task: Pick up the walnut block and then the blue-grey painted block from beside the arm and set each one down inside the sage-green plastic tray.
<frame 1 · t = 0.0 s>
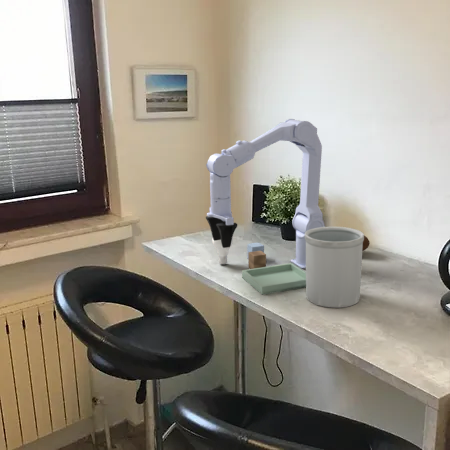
hand: (221, 243, 161), 10 cm above the counter, fingers open, 7 cm apart
utensil holder: (332, 298, 147), on the counter
tray: (277, 281, 159), on the counter
lightbulb: (223, 264, 174), on the counter
potato: (353, 254, 181), on the counter
walnut block: (257, 269, 170), on the counter
bluegrey block: (255, 259, 178), on the counter
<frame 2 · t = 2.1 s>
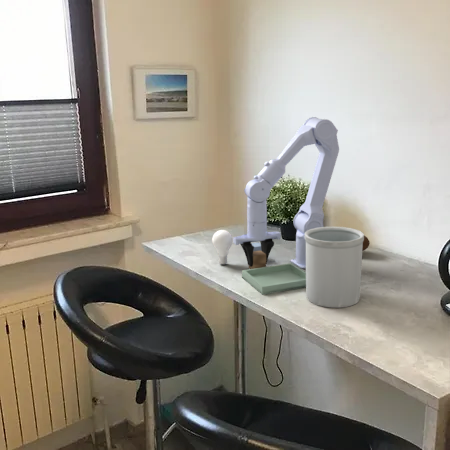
hand: (257, 264, 169), 1 cm above the counter, fingers closed on walnut block, 4 cm apart
walnut block: (257, 268, 170), on the counter, touching gripper
everything else where it was.
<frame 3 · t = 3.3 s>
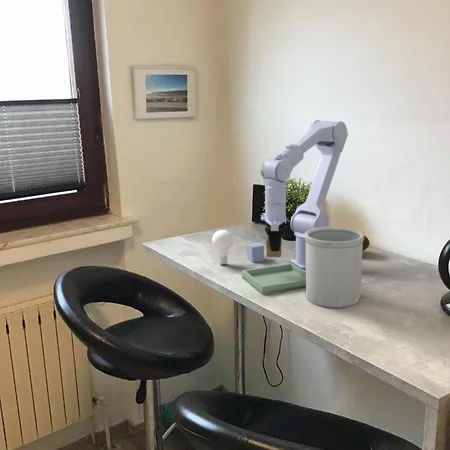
hand: (275, 248, 161), 8 cm above the counter, fingers closed on walnut block, 4 cm apart
walnut block: (274, 254, 162), point 6 cm above the counter, touching gripper
everything else where it was.
when the fingers open (3 cm above the counter, at t = 4.9 s): walnut block stays where it is, resting on tray.
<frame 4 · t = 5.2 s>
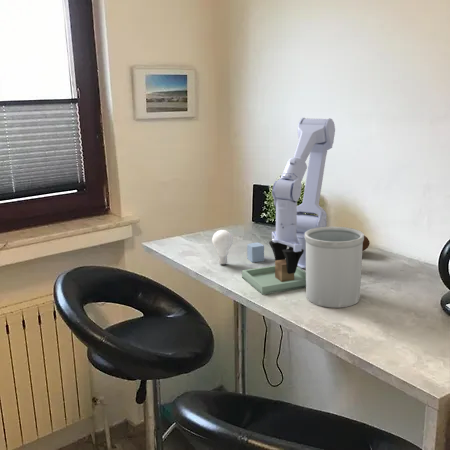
hand: (285, 268, 159), 3 cm above the counter, fingers open, 6 cm apart
walnut block: (284, 278, 160), point 1 cm above the counter, touching tray
everything else where it was.
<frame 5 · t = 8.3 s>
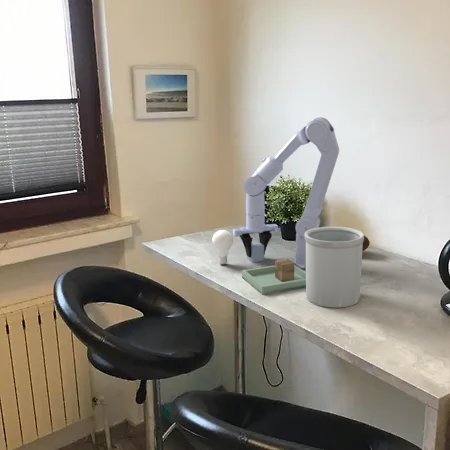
hand: (255, 255, 178), 1 cm above the counter, fingers closed on bluegrey block, 4 cm apart
bluegrey block: (255, 259, 178), on the counter, touching gripper
everything else where it was.
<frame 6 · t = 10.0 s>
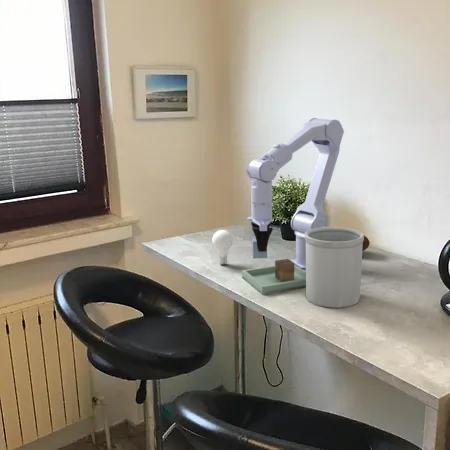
hand: (261, 248, 161), 8 cm above the counter, fingers closed on bluegrey block, 4 cm apart
bluegrey block: (259, 256, 162), point 6 cm above the counter, touching gripper
everything else where it was.
when the fingers open (3 cm above the counter, at t = 11.7 s): bluegrey block moves 1 cm, resting on tray.
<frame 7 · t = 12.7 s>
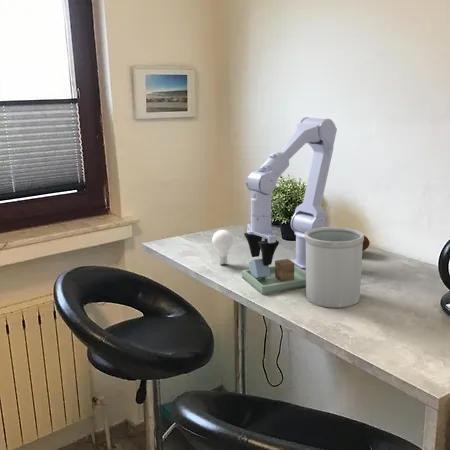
hand: (261, 260, 161), 5 cm above the counter, fingers open, 7 cm apart
bluegrey block: (261, 277, 158), point 2 cm above the counter, tilted 29°, touching gripper, tray
everything else where it was.
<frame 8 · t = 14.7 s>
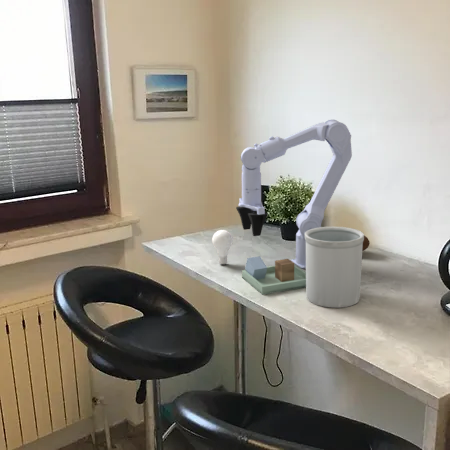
hand: (251, 232, 171), 10 cm above the counter, fingers open, 7 cm apart
bluegrey block: (259, 273, 158), point 2 cm above the counter, tilted 66°, touching tray
everything else where it was.
at the end: walnut block inside the target area on the tray (2.2 cm from its centre), point 0.6 cm above the tray's base; bluegrey block inside the target area on the tray (5.1 cm from its centre), point 2.4 cm above the tray's base; the gripper is holding nothing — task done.
